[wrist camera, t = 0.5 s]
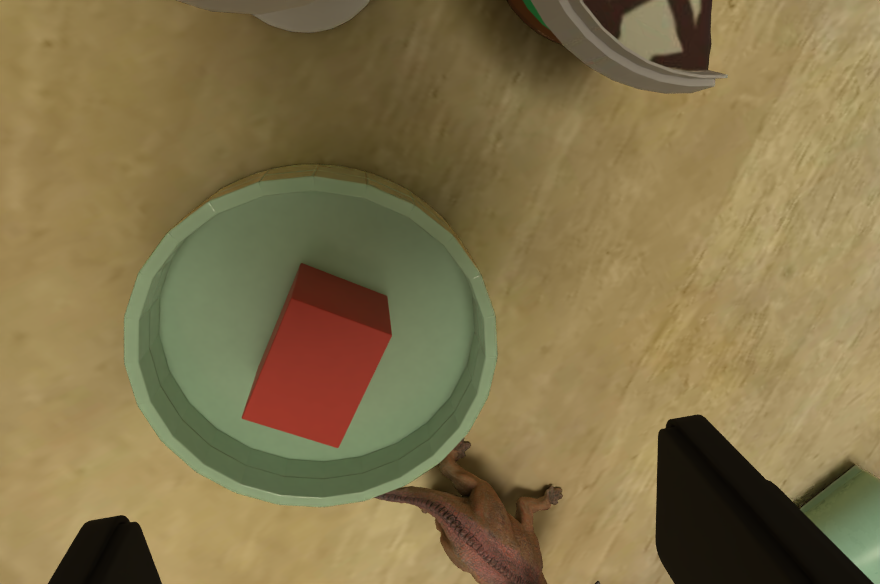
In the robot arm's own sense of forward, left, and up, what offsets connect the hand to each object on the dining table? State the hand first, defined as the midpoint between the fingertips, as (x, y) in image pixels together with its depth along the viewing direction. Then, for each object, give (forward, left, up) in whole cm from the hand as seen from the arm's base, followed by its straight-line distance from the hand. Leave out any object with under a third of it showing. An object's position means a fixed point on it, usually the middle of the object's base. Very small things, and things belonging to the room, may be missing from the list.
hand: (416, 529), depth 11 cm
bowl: (+3, -4, -19) cm, 20 cm away
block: (+3, -4, -19) cm, 19 cm away
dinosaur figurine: (+16, 0, -20) cm, 25 cm away
